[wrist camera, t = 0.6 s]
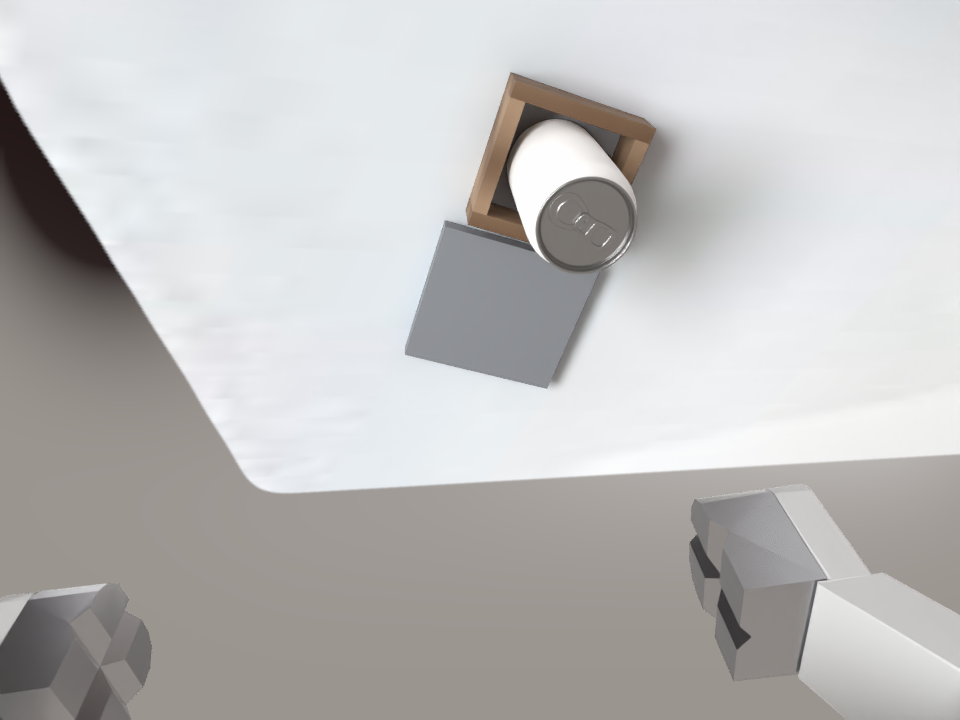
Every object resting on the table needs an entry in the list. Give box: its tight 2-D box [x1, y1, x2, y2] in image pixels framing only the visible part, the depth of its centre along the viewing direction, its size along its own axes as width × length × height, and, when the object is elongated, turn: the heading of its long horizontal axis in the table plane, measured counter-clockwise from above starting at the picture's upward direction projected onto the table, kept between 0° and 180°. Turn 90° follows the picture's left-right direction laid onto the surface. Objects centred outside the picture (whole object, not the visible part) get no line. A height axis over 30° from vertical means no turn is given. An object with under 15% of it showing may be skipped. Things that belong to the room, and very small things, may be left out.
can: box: [507, 119, 637, 274], centre depth 42 cm, size 6×6×12 cm
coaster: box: [405, 221, 600, 389], centre depth 52 cm, size 11×12×1 cm
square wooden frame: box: [466, 73, 656, 243], centre depth 46 cm, size 10×10×3 cm
